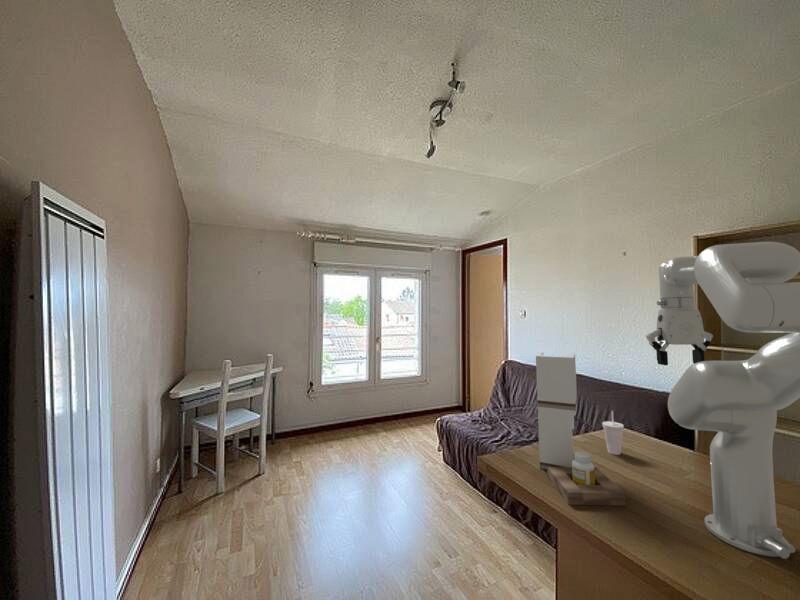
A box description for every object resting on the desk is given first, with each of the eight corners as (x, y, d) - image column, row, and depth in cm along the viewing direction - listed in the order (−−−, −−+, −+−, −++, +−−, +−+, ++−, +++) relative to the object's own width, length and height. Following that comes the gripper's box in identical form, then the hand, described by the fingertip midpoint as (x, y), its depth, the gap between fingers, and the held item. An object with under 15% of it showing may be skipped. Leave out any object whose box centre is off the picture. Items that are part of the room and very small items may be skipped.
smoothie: (625, 451, 115) (623, 410, 116) (625, 458, 110) (623, 415, 110) (603, 447, 119) (601, 407, 119) (603, 454, 113) (601, 412, 114)
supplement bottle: (589, 485, 93) (588, 450, 93) (599, 496, 88) (597, 458, 88) (569, 484, 94) (568, 449, 94) (577, 495, 88) (576, 458, 89)
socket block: (625, 505, 83) (625, 493, 83) (568, 504, 84) (568, 492, 84) (596, 477, 97) (596, 467, 97) (547, 477, 98) (547, 466, 98)
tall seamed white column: (578, 476, 98) (573, 357, 100) (539, 468, 104) (535, 356, 105) (579, 461, 108) (575, 353, 110) (544, 454, 114) (540, 352, 115)
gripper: (654, 304, 92) (658, 366, 91) (721, 303, 90) (725, 366, 90) (637, 305, 99) (640, 362, 98) (698, 304, 98) (701, 362, 97)
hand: (680, 364), depth 94 cm, fingers open, 9 cm apart
